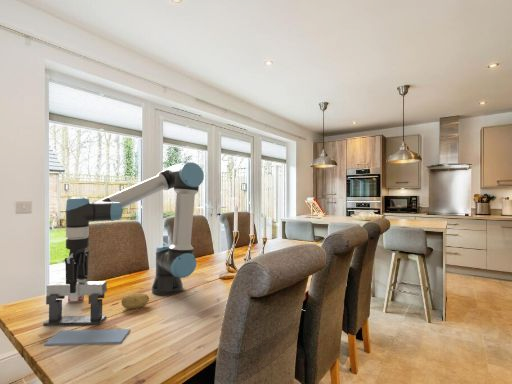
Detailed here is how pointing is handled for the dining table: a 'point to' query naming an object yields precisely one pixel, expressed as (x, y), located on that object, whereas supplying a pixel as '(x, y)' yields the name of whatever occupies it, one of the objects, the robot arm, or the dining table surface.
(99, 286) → the rail
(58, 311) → the standards
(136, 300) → the potato
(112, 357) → the dining table surface
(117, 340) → the mat
